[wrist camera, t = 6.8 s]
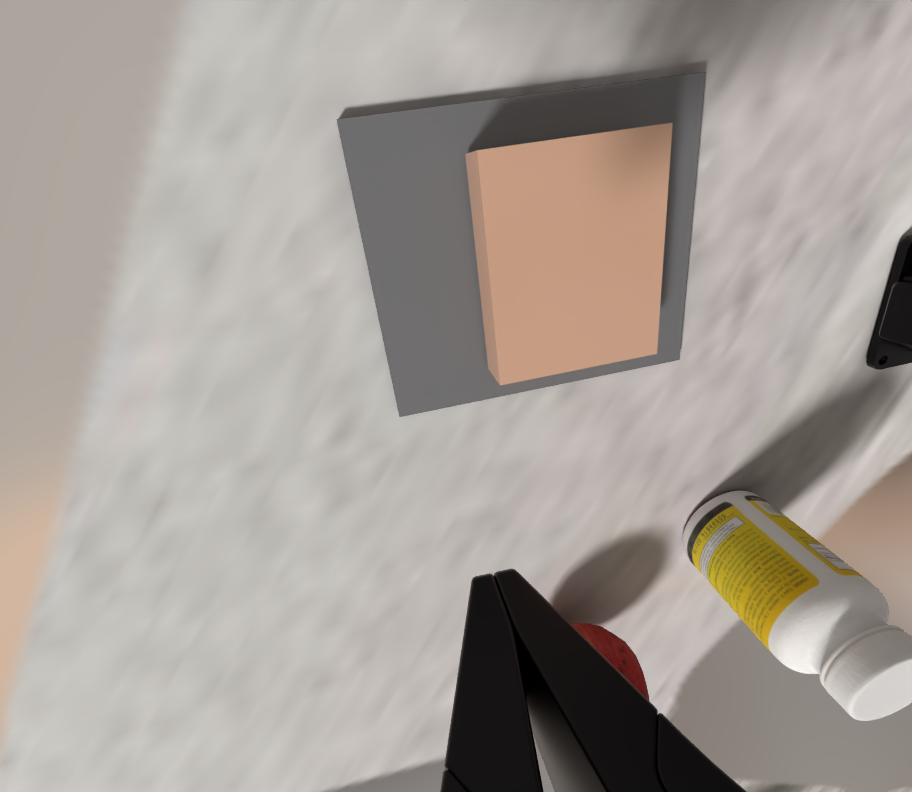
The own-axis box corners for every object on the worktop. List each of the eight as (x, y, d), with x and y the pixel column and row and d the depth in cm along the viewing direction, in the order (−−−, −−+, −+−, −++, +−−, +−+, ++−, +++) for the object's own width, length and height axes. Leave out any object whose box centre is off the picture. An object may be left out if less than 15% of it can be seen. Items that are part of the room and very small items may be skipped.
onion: (595, 576, 27) (681, 720, 19) (615, 633, 29) (697, 779, 22) (503, 616, 26) (556, 775, 19) (531, 670, 29) (587, 828, 22)
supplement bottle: (674, 570, 28) (820, 747, 19) (682, 499, 25) (852, 665, 16) (755, 548, 28) (932, 711, 19) (770, 477, 26) (979, 626, 17)
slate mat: (698, 74, 16) (705, 71, 16) (674, 356, 21) (679, 359, 21) (337, 121, 15) (336, 119, 15) (398, 413, 20) (399, 417, 19)
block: (463, 154, 16) (638, 129, 16) (487, 366, 19) (630, 338, 20) (477, 150, 14) (672, 122, 15) (500, 385, 17) (656, 353, 18)
